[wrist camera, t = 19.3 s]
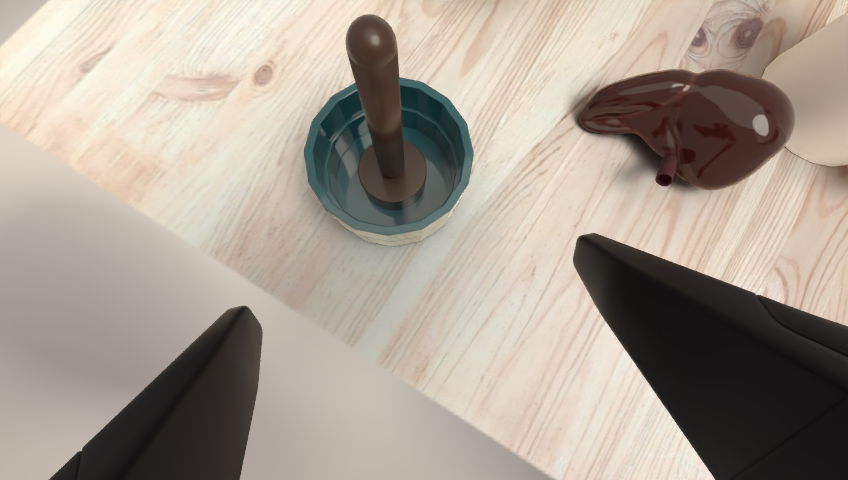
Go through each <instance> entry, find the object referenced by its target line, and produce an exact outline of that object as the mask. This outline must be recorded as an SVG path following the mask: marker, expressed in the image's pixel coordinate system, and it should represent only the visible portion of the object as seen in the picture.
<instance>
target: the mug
mask: <svg viewBox="0 0 848 480" xmlns="http://www.w3.org/2000/svg"><path fill="white" fill-rule="evenodd" d="M762 79H765V80H767V81H770V82H771V83H773V84H775V85H776V86H778V87H779V88H780V89H781V90H783V91H784V92H785V94H786V95H787V96H788V97H789V99H790V101H791V103H792V105H793V108H794V112H795V126H794V130H793V133H792V135H791V137H790V139H789V141H788V142H787V144H786V145H785V147H786V148H787V149H788V150H790V151H791V152H792V153H794V154H796V155H798V156H800V157H801V158H803V159H805V160H807V161H809V162H812V163H816V164H821V165H826V166H830V167H832V166H843V165H848V12H846V13H845V14H843V15H842V16H840V17H839V18H837V19H835V20H834V21H832V22H831V23H829V24H828V25H826V26H824V27H823V28H821V29H820V30H818V31H817V32H815V33H813V34H812V35H810V36H809V37H807V38H806V39H804V40H802V41H801V42H799V43H798V44H796V45H795V46H793V47H792V48H790V49H788V50H787V51H785V52H784V53H782V54H781V55H779V56H777V57H776V58H775V59H774V60H773V61H772V62H771V63H770V64H769V65H768V66H767V67H766V69H765V71H764V73H763V76H762Z"/></svg>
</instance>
